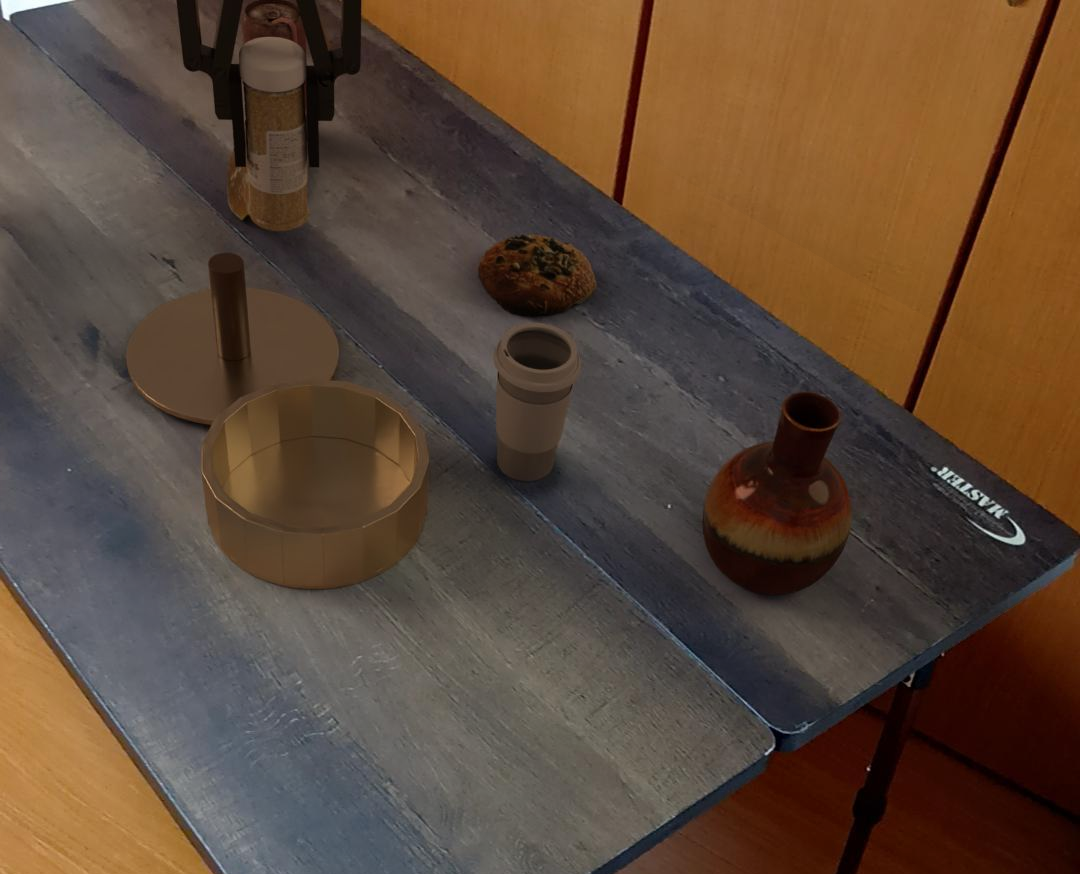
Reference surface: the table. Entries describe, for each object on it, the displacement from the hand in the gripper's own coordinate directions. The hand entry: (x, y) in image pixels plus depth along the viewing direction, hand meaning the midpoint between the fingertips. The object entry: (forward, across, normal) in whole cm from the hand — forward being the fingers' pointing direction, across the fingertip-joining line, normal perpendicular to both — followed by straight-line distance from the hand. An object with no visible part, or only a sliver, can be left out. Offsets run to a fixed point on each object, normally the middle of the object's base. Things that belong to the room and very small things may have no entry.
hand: (277, 156), depth 97 cm
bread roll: (+21, +24, +13) cm, 34 cm away
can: (+22, 0, +38) cm, 43 cm away
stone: (+22, -1, +27) cm, 35 cm away
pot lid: (+21, -4, +2) cm, 21 cm away
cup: (+21, +19, -11) cm, 31 cm away
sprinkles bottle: (+5, 0, 0) cm, 5 cm away
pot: (+21, +2, -15) cm, 26 cm away
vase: (+21, +36, -23) cm, 48 cm away
